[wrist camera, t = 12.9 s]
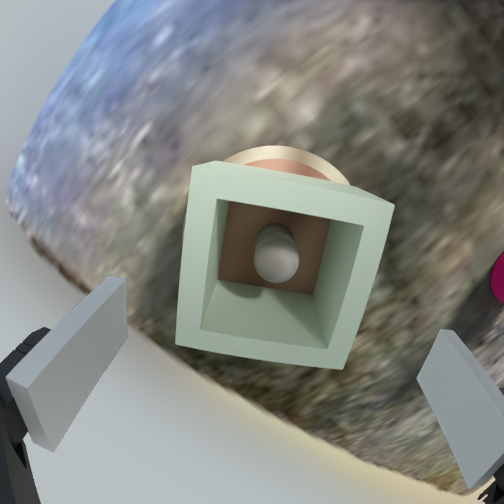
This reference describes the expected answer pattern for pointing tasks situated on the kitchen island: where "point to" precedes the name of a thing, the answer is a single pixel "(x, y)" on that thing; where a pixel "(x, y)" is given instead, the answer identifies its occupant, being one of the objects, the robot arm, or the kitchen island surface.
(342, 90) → the kitchen island surface
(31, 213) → the kitchen island surface
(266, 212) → the post stand
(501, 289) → the pepper mill
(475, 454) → the robot arm
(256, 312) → the square ring
